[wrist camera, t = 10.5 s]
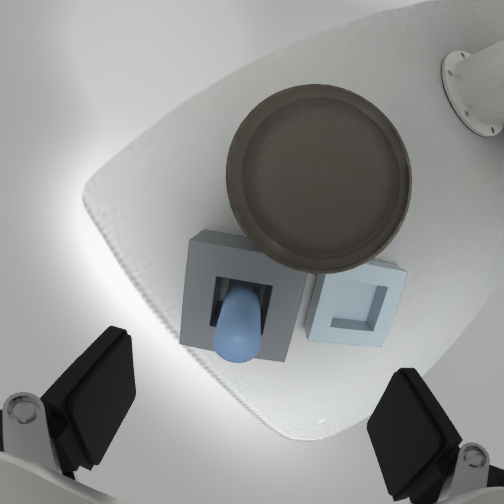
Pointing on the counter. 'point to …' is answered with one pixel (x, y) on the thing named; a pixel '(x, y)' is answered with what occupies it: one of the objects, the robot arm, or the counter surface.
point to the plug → (239, 323)
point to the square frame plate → (355, 304)
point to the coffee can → (318, 179)
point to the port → (246, 269)
